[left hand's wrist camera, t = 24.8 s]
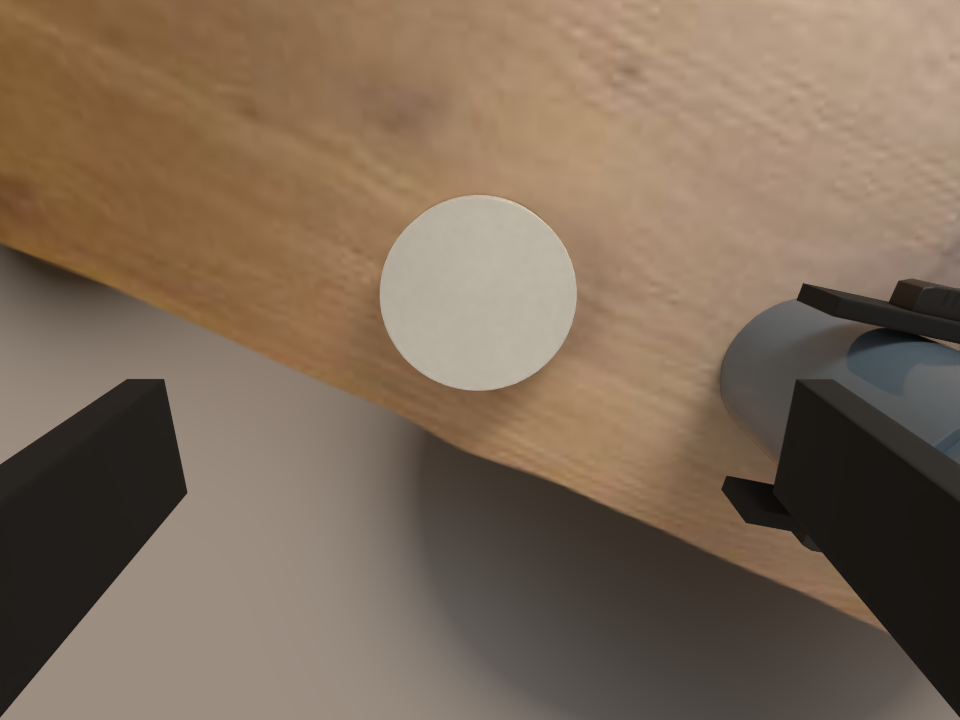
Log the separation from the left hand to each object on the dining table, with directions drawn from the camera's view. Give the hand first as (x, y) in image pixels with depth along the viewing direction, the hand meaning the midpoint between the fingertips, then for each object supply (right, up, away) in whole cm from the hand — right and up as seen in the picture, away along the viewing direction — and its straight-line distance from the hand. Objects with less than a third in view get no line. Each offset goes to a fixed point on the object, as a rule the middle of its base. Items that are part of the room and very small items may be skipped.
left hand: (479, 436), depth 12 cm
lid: (0, +5, +16) cm, 16 cm away
